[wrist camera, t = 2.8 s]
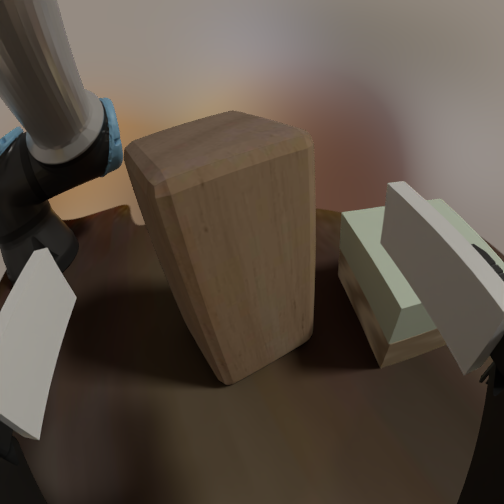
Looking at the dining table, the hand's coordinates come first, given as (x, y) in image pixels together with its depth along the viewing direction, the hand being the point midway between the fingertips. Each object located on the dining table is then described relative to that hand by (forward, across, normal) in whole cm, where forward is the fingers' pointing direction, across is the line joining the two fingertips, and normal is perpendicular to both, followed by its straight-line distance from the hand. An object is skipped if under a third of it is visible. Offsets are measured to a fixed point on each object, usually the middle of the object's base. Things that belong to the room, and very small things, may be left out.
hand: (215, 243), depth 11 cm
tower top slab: (+9, +18, -15) cm, 25 cm away
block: (+10, 0, -19) cm, 21 cm away
